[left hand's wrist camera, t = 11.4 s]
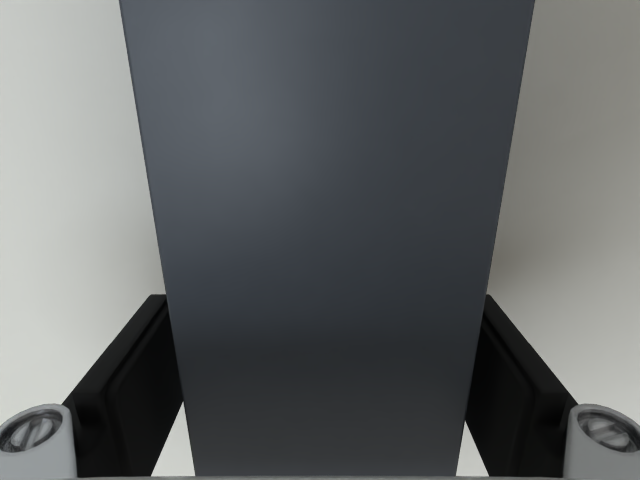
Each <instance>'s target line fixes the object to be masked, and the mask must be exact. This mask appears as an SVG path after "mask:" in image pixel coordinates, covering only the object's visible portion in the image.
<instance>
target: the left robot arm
mask: <svg viewBox="0 0 640 480" xmlns="http://www.w3.org/2000/svg"><path fill="white" fill-rule="evenodd" d="M182 402H183V395H182V389H181V383H180V377H179V371H178V364H177V358H176V352H175V346H174V339H173V333H172V327H171V321H170V315H169V308H168V302H167V296H166V294H153V295H150V296H149V297H148V298H147V299H146V301H145V302H144V303H143V304H142V306H141V307H140V308H139V309H138V311H137V312H136V313H135V314H134V315H133V317H132V318H131V319H130V320H129V322H128V323H127V324H126V325H125V327H124V328H123V329H122V330H121V332H120V333H119V334H118V335H117V337H116V338H115V339H114V340H113V342H112V343H111V344H110V345H109V346H108V347H107V349H106V350H105V351H104V352H103V354H102V355H101V356H100V357H99V359H98V360H97V361H96V362H95V363H94V365H93V366H92V367H91V368H90V370H89V371H88V372H87V373H86V375H85V376H84V377H83V378H82V380H81V381H80V382H79V383H78V385H77V386H76V387H75V388H74V390H73V391H72V392H71V393H70V394H69V396H68V397H67V398H66V399H65V401H64V402H63V403H62V404H61V405H59V404H43V405H39V406H35V407H32V408H29V409H27V410H25V411H22V412H20V413H18V414H16V415H15V416H13V417H11V418H10V419H8V420H7V421H6V422H4V423H3V424H2V425H1V426H0V480H640V426H639V425H638V424H637V423H636V422H634V421H633V420H632V419H630V418H629V417H627V416H625V415H624V414H622V413H620V412H618V411H615V410H613V409H611V408H608V407H605V406H601V405H597V404H581V405H579V404H578V403H577V402H576V401H575V399H574V398H573V397H572V396H571V395H570V393H569V392H568V391H567V390H566V388H565V387H564V386H563V385H562V383H561V382H560V381H559V380H558V378H557V377H556V376H555V375H554V373H553V372H552V371H551V370H550V368H549V367H548V366H547V365H546V363H545V362H544V361H543V360H542V359H541V357H540V356H539V355H538V354H537V352H536V351H535V350H534V349H533V347H532V346H531V345H530V344H529V343H528V342H527V340H526V339H525V338H524V337H523V335H522V334H521V333H520V332H519V330H518V329H517V328H516V327H515V325H514V324H513V323H512V322H511V320H510V319H509V318H508V317H507V316H506V314H505V313H504V312H503V311H502V309H501V308H500V307H499V306H498V304H497V303H496V302H495V301H494V299H493V298H492V297H491V296H490V295H487V294H486V297H485V303H484V309H483V315H482V321H481V327H480V333H479V339H478V345H477V351H476V357H475V363H474V369H473V375H472V381H471V387H470V393H469V399H468V405H467V411H466V417H465V421H466V423H467V426H468V428H469V430H470V433H471V435H472V437H473V440H474V442H475V444H476V447H477V449H478V451H479V454H480V456H481V458H482V460H483V463H484V465H485V467H486V470H487V472H488V474H489V477H471V476H169V477H151V474H152V472H153V470H154V467H155V465H156V463H157V460H158V458H159V456H160V453H161V451H162V449H163V447H164V444H165V442H166V440H167V437H168V435H169V433H170V430H171V428H172V426H173V423H174V421H175V419H176V416H177V414H178V412H179V409H180V407H181V405H182Z"/></svg>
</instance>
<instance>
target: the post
mask: <svg viewBox="0 0 640 480" xmlns="http://www.w3.org/2000/svg"><path fill="white" fill-rule="evenodd" d="M534 3H535V0H119V4H120V10H121V17H122V23H123V29H124V35H125V41H126V48H127V54H128V60H129V66H130V73H131V79H132V85H133V91H134V97H135V104H136V110H137V116H138V122H139V128H140V135H141V141H142V147H143V153H144V159H145V166H146V172H147V178H148V184H149V190H150V197H151V203H152V209H153V215H154V222H155V228H156V234H157V240H158V246H159V253H160V259H161V265H162V271H163V277H164V284H165V290H166V296H167V302H168V308H169V315H170V321H171V327H172V333H173V339H174V346H175V352H176V358H177V364H178V371H179V377H180V383H181V389H182V395H183V402H184V408H185V414H186V420H187V426H188V433H189V439H190V445H191V451H192V457H193V464H194V470H195V476H456V471H457V465H458V459H459V453H460V447H461V441H462V435H463V429H464V423H465V417H466V411H467V405H468V399H469V393H470V387H471V381H472V375H473V369H474V363H475V357H476V351H477V345H478V339H479V333H480V327H481V321H482V315H483V309H484V303H485V297H486V291H487V285H488V279H489V273H490V267H491V261H492V255H493V249H494V243H495V237H496V231H497V225H498V219H499V213H500V207H501V201H502V195H503V189H504V183H505V177H506V171H507V165H508V159H509V153H510V147H511V141H512V135H513V129H514V123H515V117H516V111H517V105H518V99H519V93H520V87H521V81H522V75H523V69H524V63H525V57H526V51H527V45H528V39H529V33H530V27H531V21H532V15H533V9H534Z"/></svg>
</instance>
